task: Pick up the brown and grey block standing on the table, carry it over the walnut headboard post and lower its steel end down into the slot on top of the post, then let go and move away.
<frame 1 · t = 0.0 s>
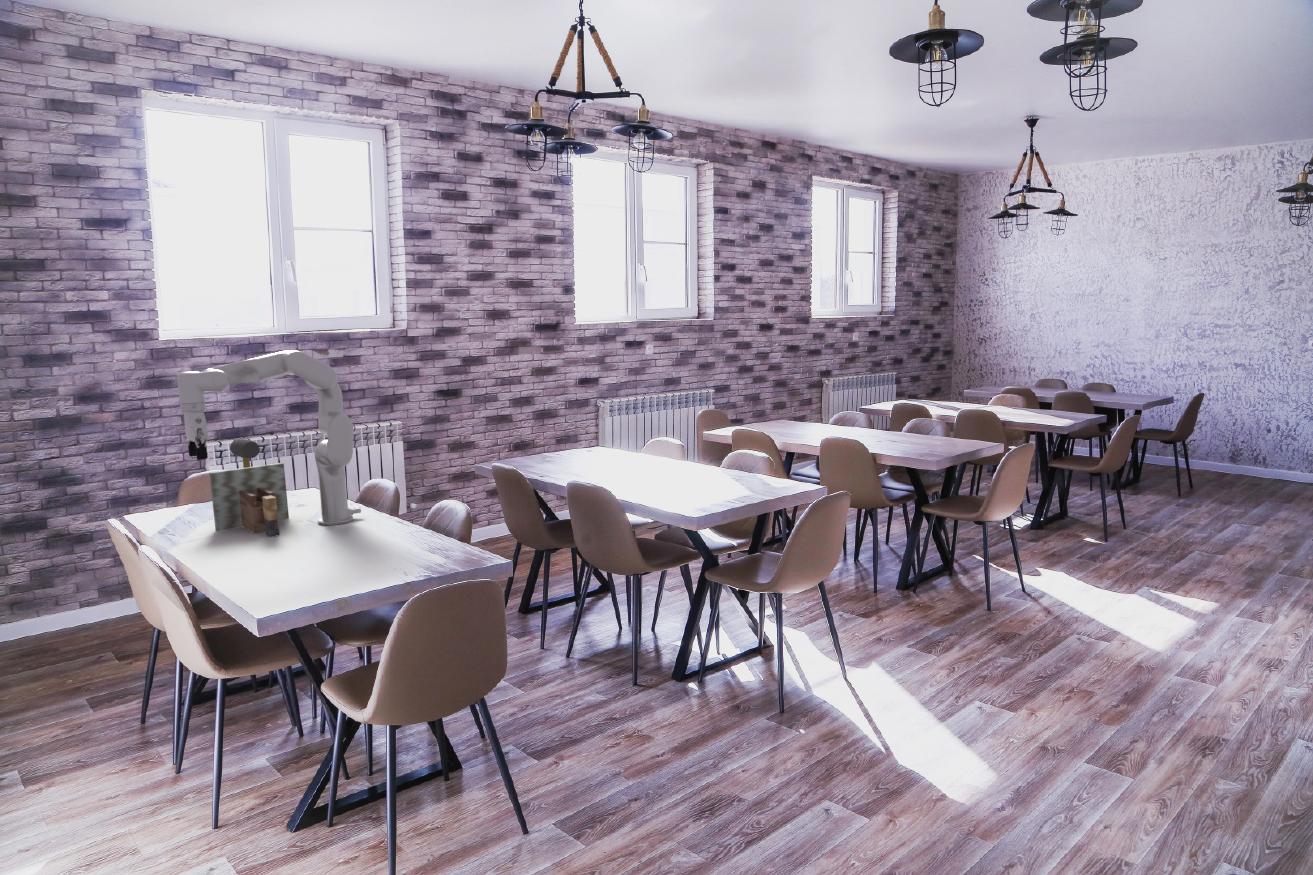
hand: (198, 457, 291), 31 cm above the table, tool pointing down, fingers open, 9 cm apart
rubber mallet: (251, 512, 345), on the table
headboard: (259, 527, 319), on the table
brown and grey block: (272, 534, 308), on the table
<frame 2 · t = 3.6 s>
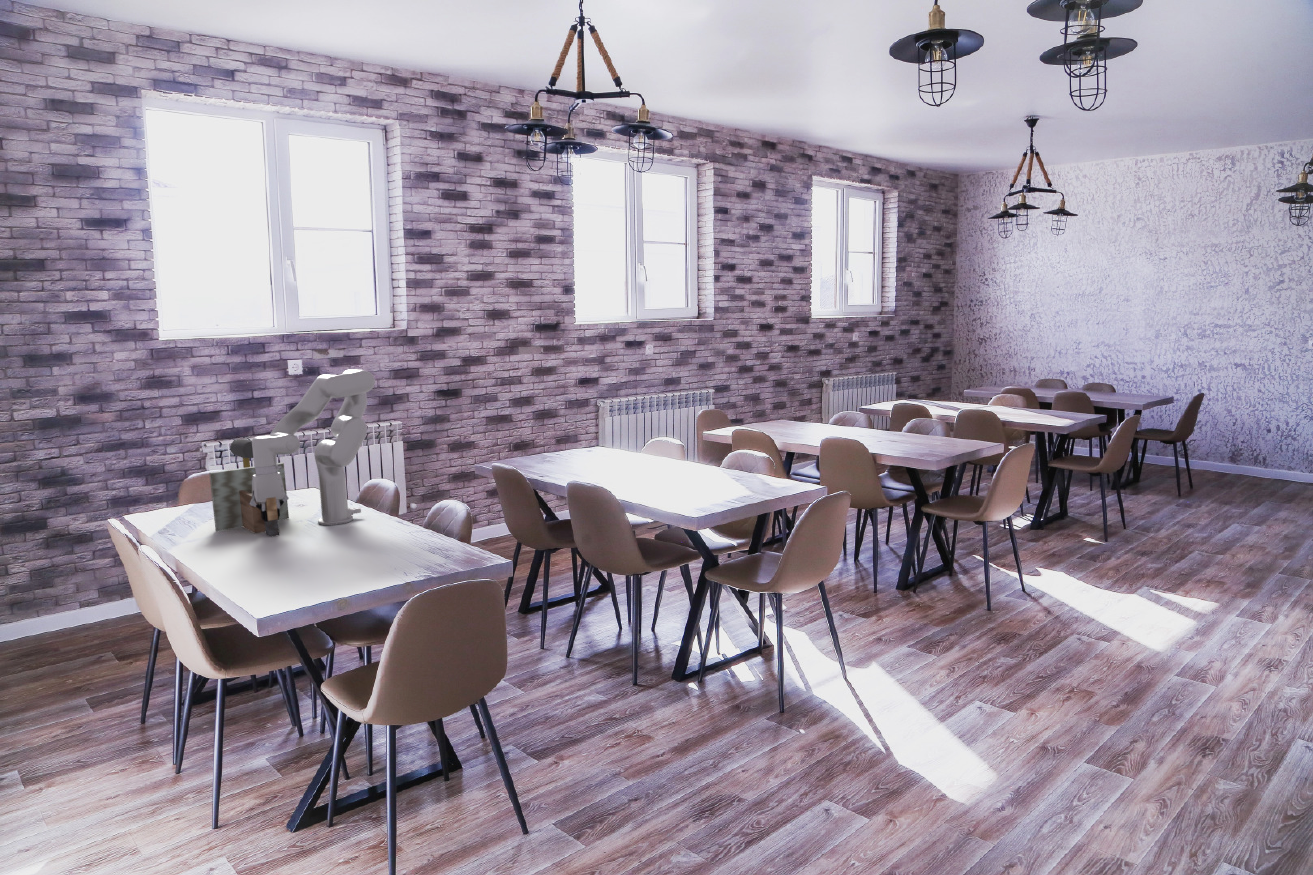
hand: (271, 519, 307), 6 cm above the table, tool pointing down, fingers closed on brown and grey block, 3 cm apart
brown and grey block: (272, 534, 308), on the table, touching gripper
everything else where it was.
when the fingers open (16 cm above the table, at t = 8.3 s): brown and grey block drops 2 cm, resting on headboard.
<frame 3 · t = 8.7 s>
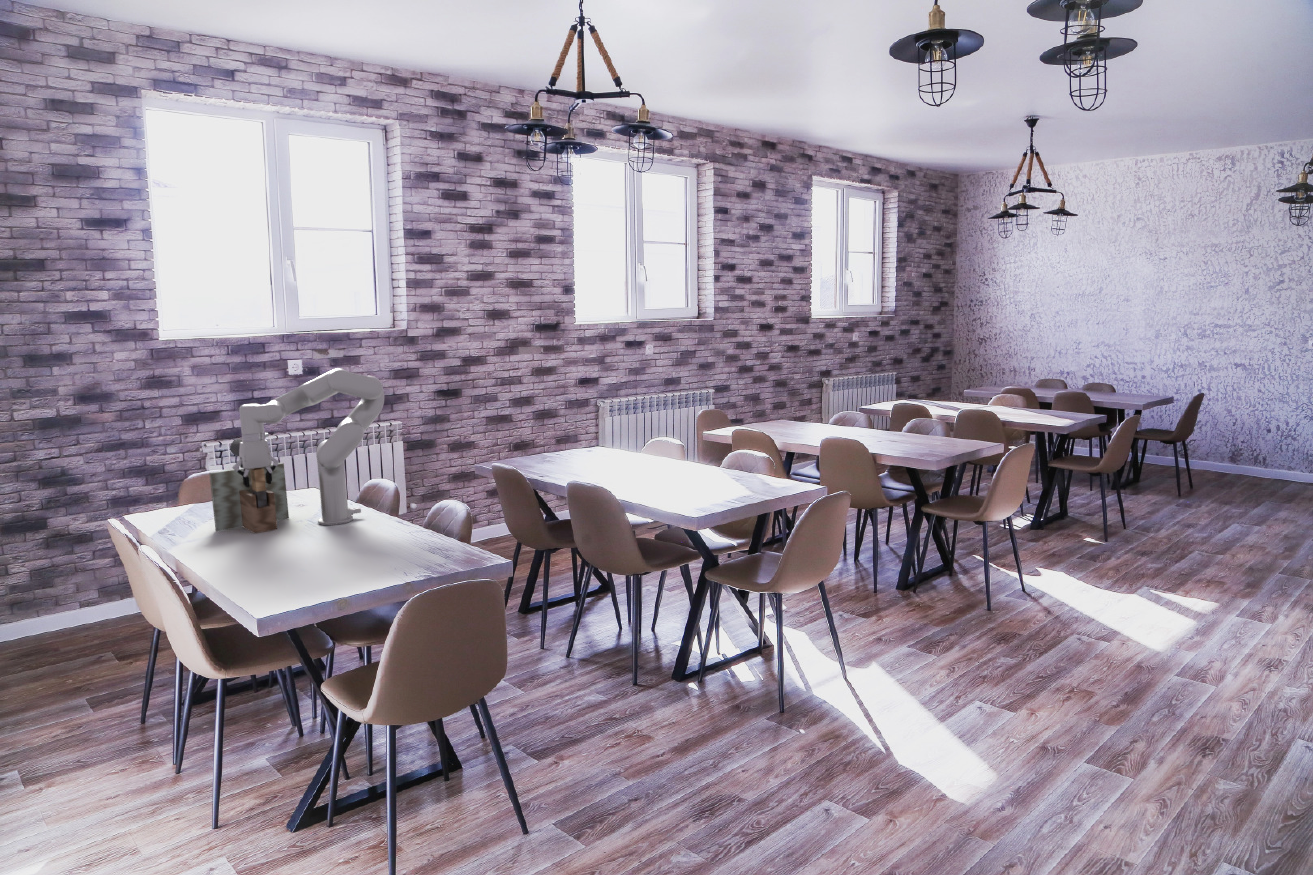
hand: (258, 484, 314), 17 cm above the table, tool pointing down, fingers open, 7 cm apart
brown and grey block: (260, 505, 315), point 9 cm above the table, touching headboard
everything else where it was.
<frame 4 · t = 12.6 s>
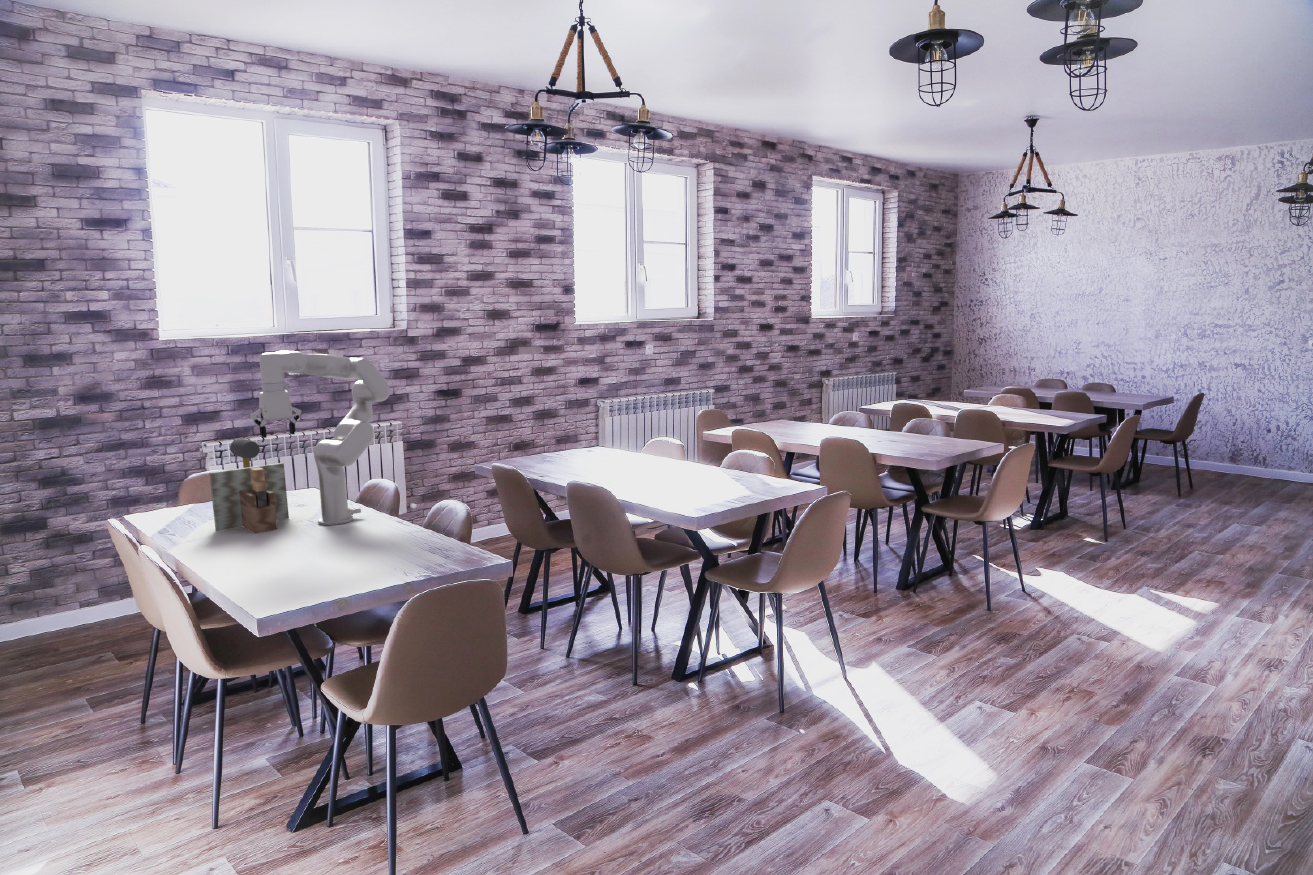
hand: (278, 435, 302), 36 cm above the table, tool pointing down, fingers open, 9 cm apart
nothing on the table moved.
at the end: brown and grey block 1.3 cm from the target spot on the headboard, point 9.0 cm above the headboard's base; brown and grey block tilted 0°; the gripper is holding nothing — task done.
